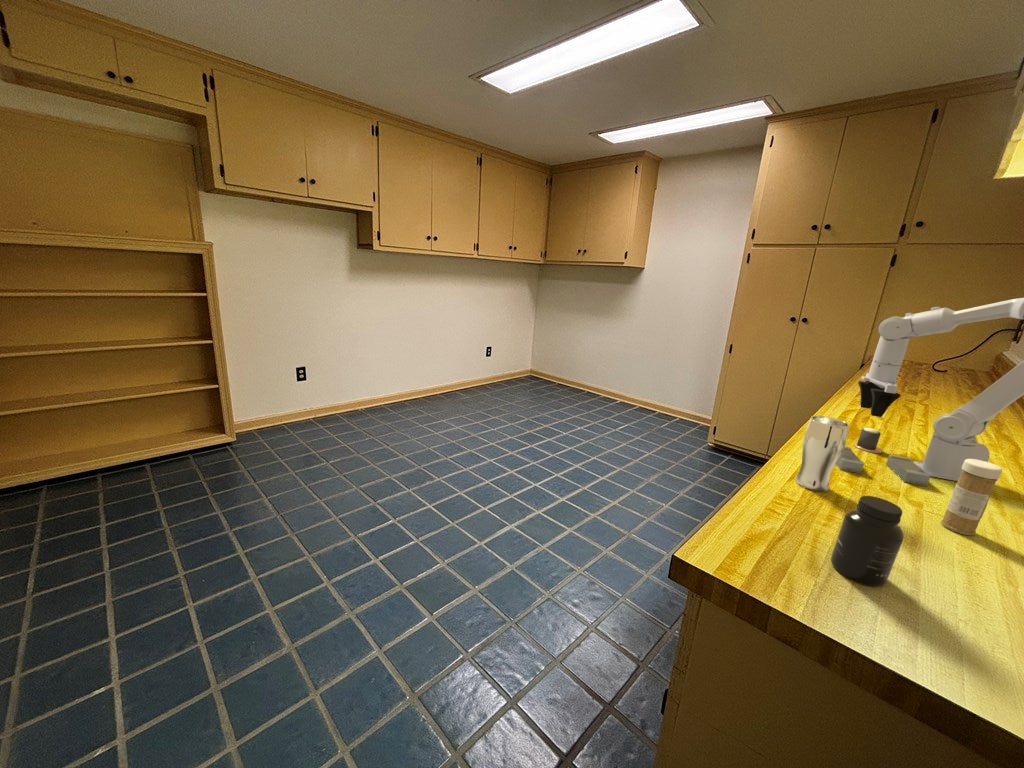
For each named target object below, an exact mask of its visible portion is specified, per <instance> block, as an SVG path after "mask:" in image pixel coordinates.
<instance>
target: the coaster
mask: <svg viewBox="0 0 1024 768" xmlns="http://www.w3.org/2000/svg"><path fill="white" fill-rule="evenodd" d="M853 446H854V447H855V448H856V449H858V450H861V451H864V452H867V453H871V454H882V453H883V449H882V448H880V447H879V446H877V447H876V450H868V449H864V448H861V447H859V446H857V442H854V444H853Z"/></svg>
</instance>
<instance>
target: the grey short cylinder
mask: <svg viewBox="0 0 1024 768" xmlns="http://www.w3.org/2000/svg"><path fill="white" fill-rule="evenodd" d="M880 438H881V432H880V430H877V429H875V428H871V427H864V428H861V430H860V434H859V436H858V439H857V442H856V443H857V446H859V447H861V448H864V449H868V450H876V447H878V443H879V439H880Z"/></svg>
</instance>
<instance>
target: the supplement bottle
mask: <svg viewBox="0 0 1024 768" xmlns="http://www.w3.org/2000/svg"><path fill="white" fill-rule="evenodd" d="M902 515H903V510H902V508H901V507H900V506H898V505H897V504H896V503H893V502H892V501H889V500H887V499H884V498H881V497H878V496H873V495H863V496H860V498H859V499H858V503H857V504H856V507H855V509H854V510H850V511H848V512H846V514H845V515H844V517H843V520H842V523H841V527H840V529H839V532H838V535H837V538H836V542H835V544H834V547H833V550H832V554H831V556H830V557H831V559H830V561H831V564H832V566H833V568H834V569H835V570H837V572H839V573H840V574H841V575H843V576H844V577H845V578H847V579H849V580H851V581H854V582H856V583H858V584H861V585H864V586H868V587H881V586H884V585H885V584H886V583H887V581H888V579H889V577H890V574H891V573H892V570H893V567H894V564H895V562H896V559H897V557H898V554H899V551H900V548H901V546H902V543H903V541H904V535H905V534H904V531H903V530H902V528H901V526H899V525H900V523H901V518H902Z"/></svg>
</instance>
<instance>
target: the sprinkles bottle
mask: <svg viewBox="0 0 1024 768" xmlns="http://www.w3.org/2000/svg"><path fill="white" fill-rule="evenodd" d="M1002 473H1003V468H1001V467H1000V466H999V465H997V464H994V463H991V462H989V461H988V462H985V461H981V460H976V459H966V460H965V461H964V463H963V465H962V472H961V474H960V477H959V480H958V481H956V482H957V483H955V486H954V489H953V492H952V494H951V497H950V499H949V501H948V504H947V507H946V510H945V513H944V516H943V517H942V520H941V521H940V523H941V525H942V526H943V527H944V528H946V529H947V530H950V531H952V532H955V533H957V534H960V535H964V536H974V535H976V534H977V528H978V526H979V523H980V521H981V519H982V517H983V516H984V513H985V511H986V509H987V506H988V502H989V500H990V498H991V495H992V492H993V489H994V487H995V486H996V483H997V481H998V480H999V479H1000V477H1001V476H1002V475H1001V474H1002Z"/></svg>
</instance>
